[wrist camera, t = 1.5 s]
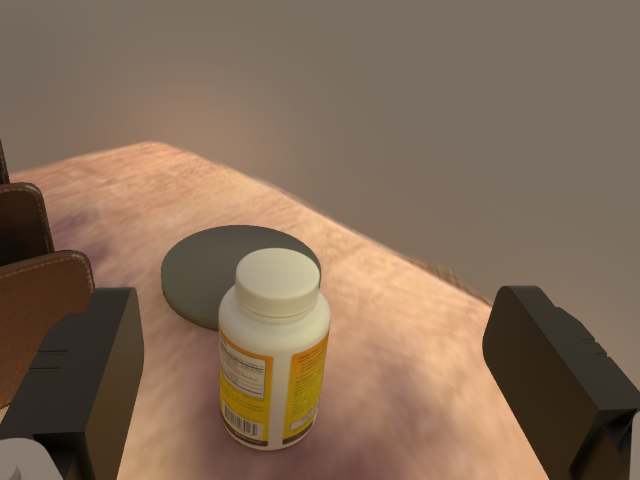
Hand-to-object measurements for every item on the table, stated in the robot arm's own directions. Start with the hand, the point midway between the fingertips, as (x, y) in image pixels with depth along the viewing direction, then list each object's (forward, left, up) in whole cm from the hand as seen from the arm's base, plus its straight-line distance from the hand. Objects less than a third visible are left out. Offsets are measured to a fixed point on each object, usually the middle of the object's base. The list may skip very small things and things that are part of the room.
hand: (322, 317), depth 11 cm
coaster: (-6, +23, -17) cm, 29 cm away
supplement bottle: (-2, +11, -17) cm, 20 cm away
